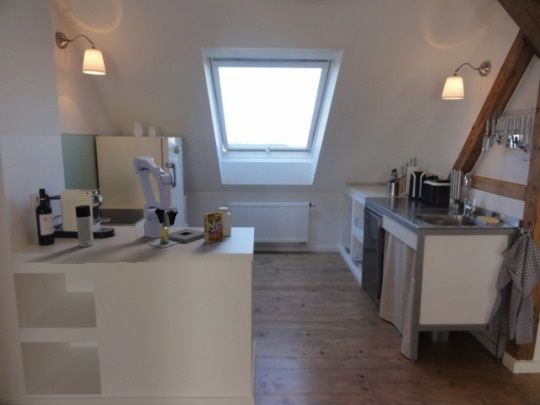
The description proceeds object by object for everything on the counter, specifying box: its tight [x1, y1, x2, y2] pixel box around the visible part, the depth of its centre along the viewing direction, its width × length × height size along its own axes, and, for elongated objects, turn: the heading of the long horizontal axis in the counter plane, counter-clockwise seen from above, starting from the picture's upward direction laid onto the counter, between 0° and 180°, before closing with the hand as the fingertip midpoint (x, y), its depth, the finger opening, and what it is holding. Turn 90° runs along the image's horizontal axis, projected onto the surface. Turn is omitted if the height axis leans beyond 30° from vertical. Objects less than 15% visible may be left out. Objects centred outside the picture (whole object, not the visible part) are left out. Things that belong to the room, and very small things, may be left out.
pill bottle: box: [218, 206, 232, 237], centre depth 207 cm, size 8×8×15 cm
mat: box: [149, 240, 180, 249], centre depth 191 cm, size 10×10×1 cm
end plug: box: [159, 226, 170, 244], centre depth 190 cm, size 4×4×8 cm
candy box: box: [203, 210, 224, 244], centre depth 194 cm, size 9×4×15 cm, turn 123°
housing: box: [169, 228, 204, 244], centre depth 203 cm, size 16×16×2 cm
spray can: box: [74, 204, 94, 248], centre depth 188 cm, size 7×7×20 cm
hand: (166, 224), depth 193 cm, fingers open, 7 cm apart
